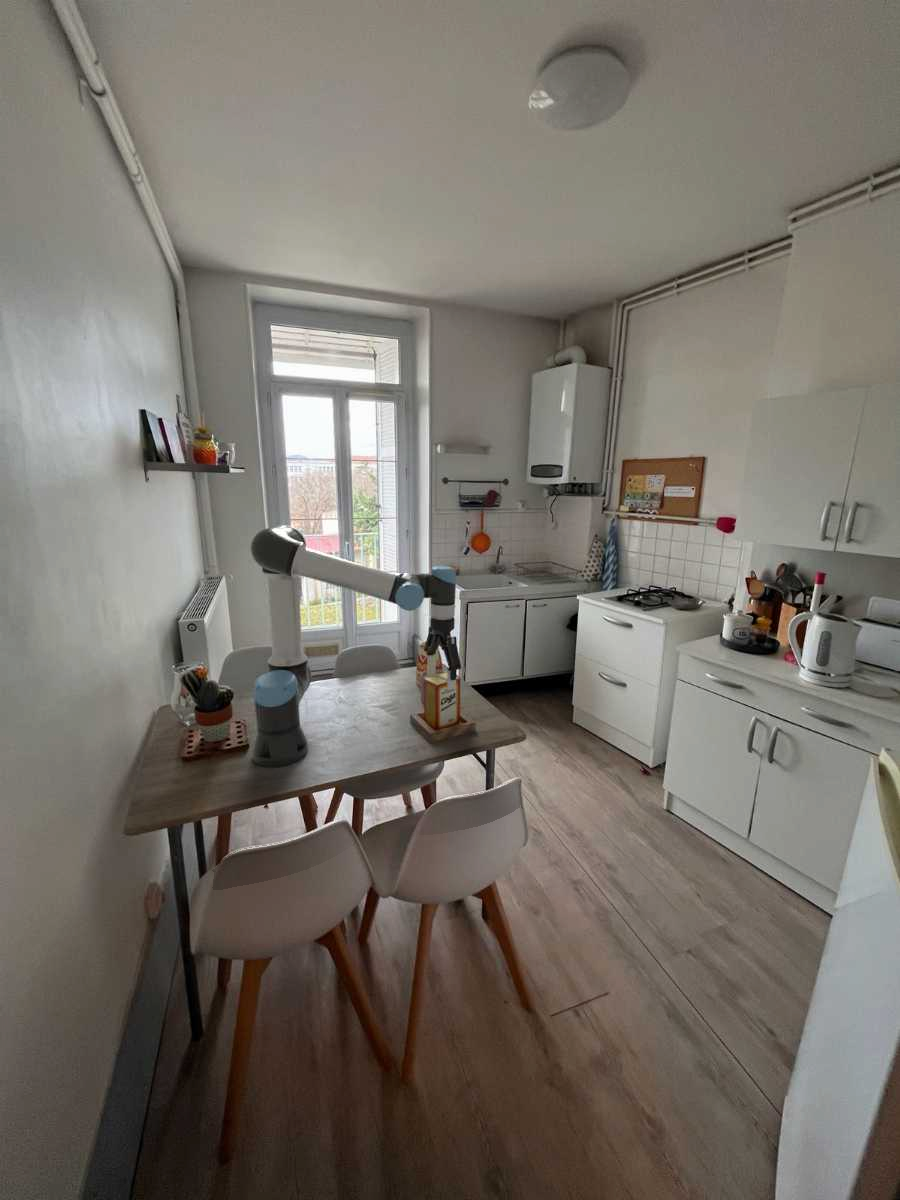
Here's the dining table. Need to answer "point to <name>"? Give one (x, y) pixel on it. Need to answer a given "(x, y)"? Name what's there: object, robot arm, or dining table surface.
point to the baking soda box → (441, 702)
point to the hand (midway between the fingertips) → (441, 681)
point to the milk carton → (423, 662)
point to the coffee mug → (424, 676)
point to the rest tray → (433, 736)
